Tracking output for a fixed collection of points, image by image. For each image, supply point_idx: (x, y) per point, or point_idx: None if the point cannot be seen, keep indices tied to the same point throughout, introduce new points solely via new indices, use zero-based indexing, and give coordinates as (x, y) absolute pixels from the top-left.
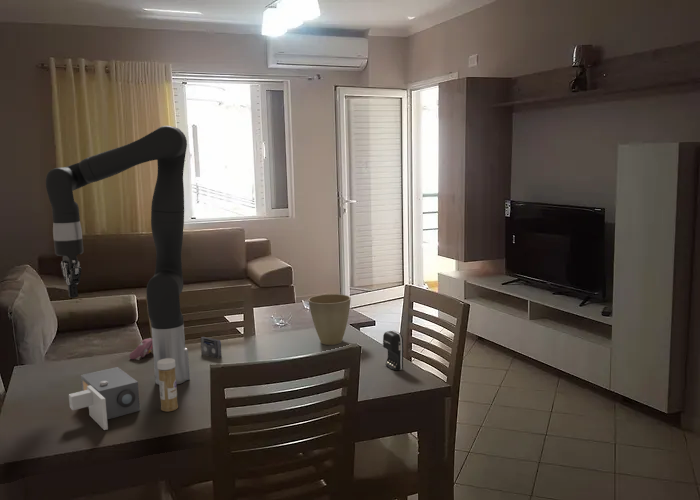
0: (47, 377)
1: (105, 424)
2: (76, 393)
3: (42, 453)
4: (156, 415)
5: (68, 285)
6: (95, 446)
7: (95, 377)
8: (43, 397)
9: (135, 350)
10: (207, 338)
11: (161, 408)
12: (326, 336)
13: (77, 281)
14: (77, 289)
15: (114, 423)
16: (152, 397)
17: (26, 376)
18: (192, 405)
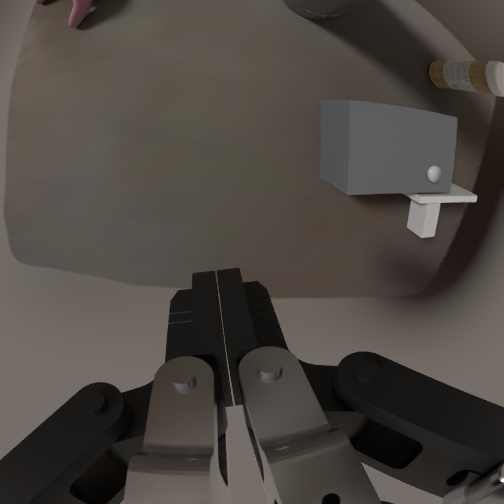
0: (97, 219)
1: None
2: (428, 225)
3: (436, 261)
4: (446, 103)
5: (238, 403)
6: (463, 207)
7: (386, 172)
8: (230, 238)
9: (79, 7)
10: None
11: (440, 87)
12: None
13: (382, 380)
14: (247, 305)
15: None
16: (380, 62)
17: (72, 256)
18: (444, 44)
